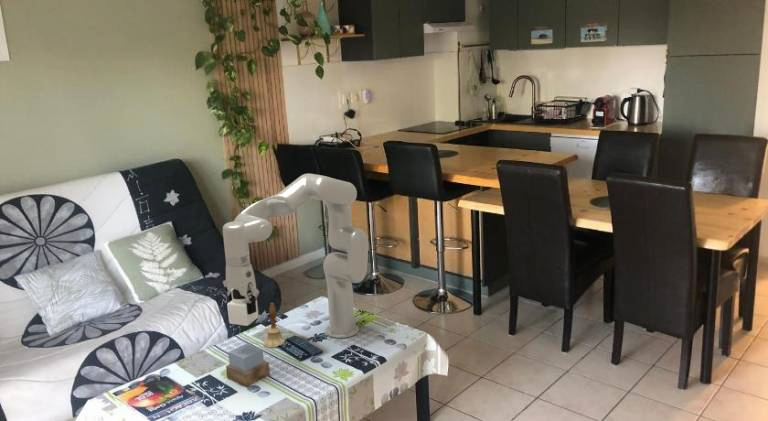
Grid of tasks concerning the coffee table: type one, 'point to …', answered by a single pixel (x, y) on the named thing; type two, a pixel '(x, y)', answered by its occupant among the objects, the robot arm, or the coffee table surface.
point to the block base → (248, 374)
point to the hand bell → (273, 331)
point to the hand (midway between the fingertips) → (242, 309)
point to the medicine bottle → (240, 310)
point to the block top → (246, 357)
